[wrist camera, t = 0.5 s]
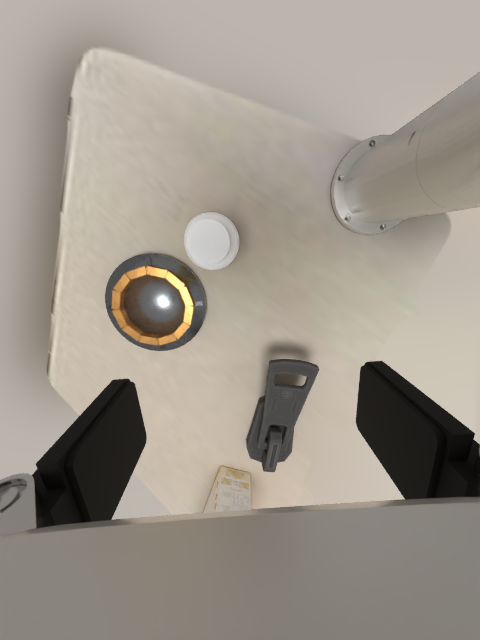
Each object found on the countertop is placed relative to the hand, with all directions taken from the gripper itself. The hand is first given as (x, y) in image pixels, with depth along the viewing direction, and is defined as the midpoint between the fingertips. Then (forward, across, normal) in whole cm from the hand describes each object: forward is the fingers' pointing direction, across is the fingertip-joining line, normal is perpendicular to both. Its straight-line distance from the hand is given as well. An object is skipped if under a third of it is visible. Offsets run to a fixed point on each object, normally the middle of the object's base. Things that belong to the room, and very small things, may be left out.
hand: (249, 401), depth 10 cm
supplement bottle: (+31, +3, -7) cm, 32 cm away
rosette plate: (+31, +14, +2) cm, 34 cm away
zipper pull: (+31, -6, +23) cm, 39 cm away
